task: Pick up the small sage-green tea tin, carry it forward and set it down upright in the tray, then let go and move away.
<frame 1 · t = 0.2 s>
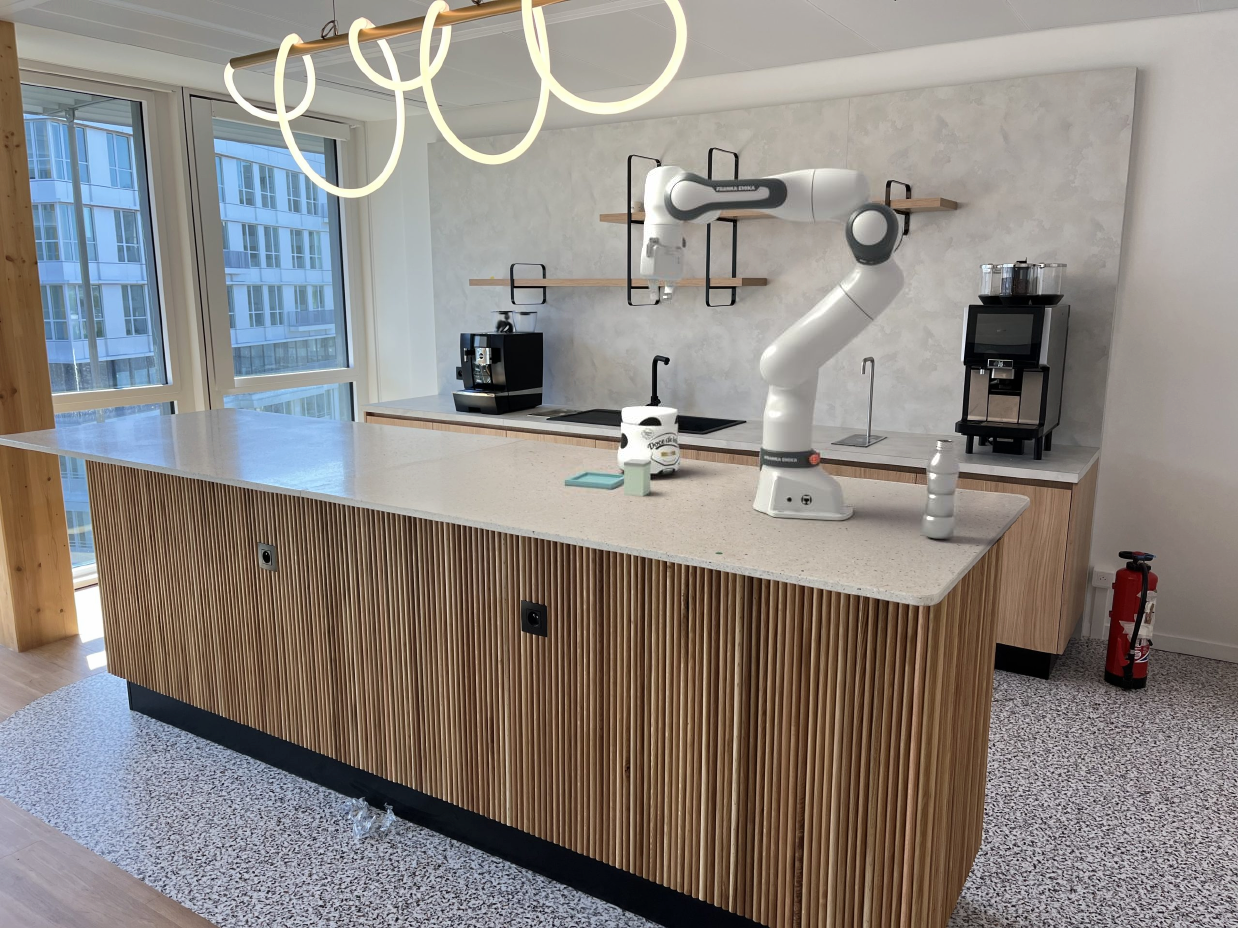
hand: (661, 300, 209), 47 cm above the countertop, tool pointing down, fingers open, 8 cm apart
tea tin: (637, 493, 221), on the countertop
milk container: (648, 474, 246), on the countertop
plastic bottle: (937, 538, 181), on the countertop
tray: (597, 482, 233), on the countertop
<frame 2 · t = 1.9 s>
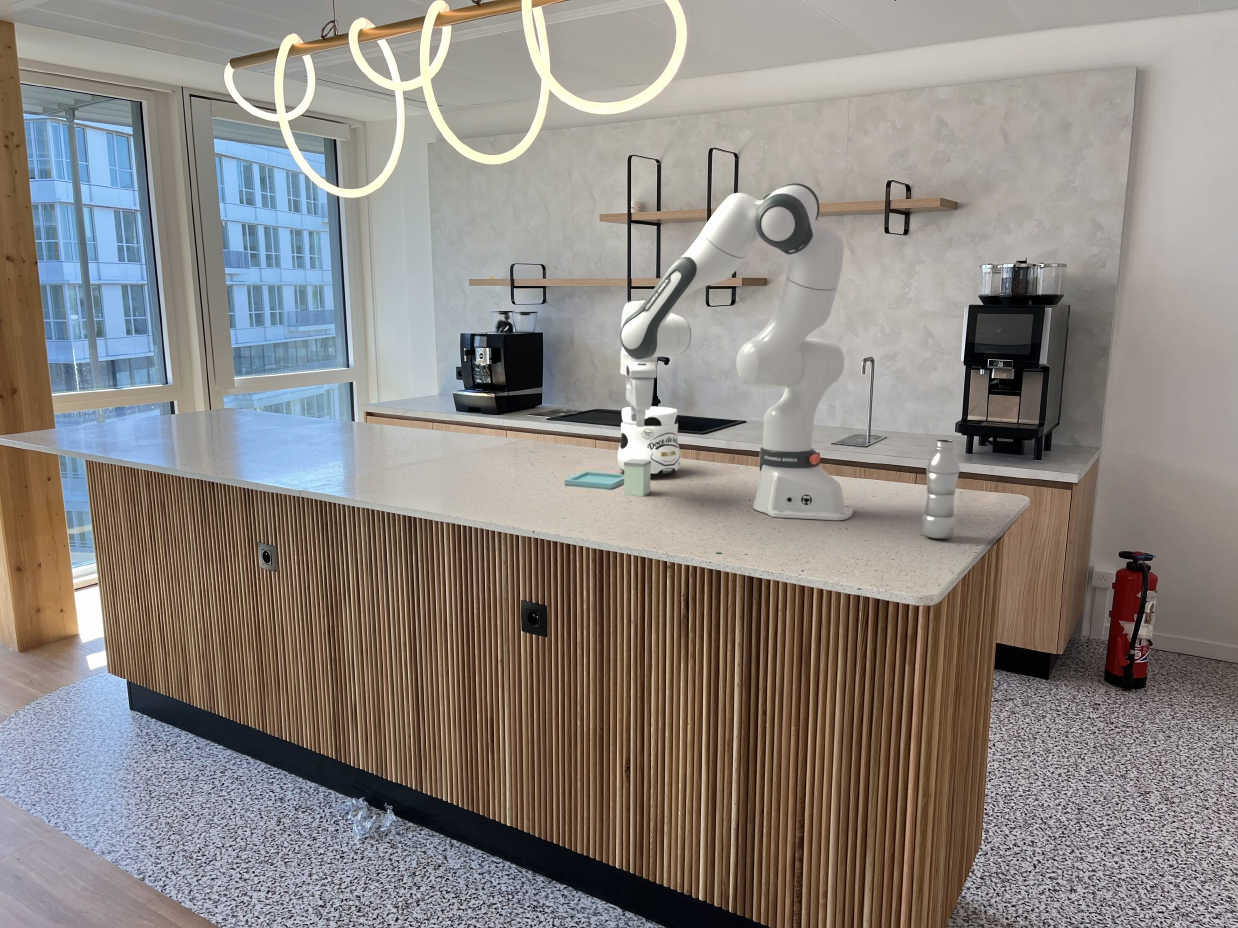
hand: (637, 424, 218), 17 cm above the countertop, tool pointing down, fingers open, 8 cm apart
nothing on the countertop moved.
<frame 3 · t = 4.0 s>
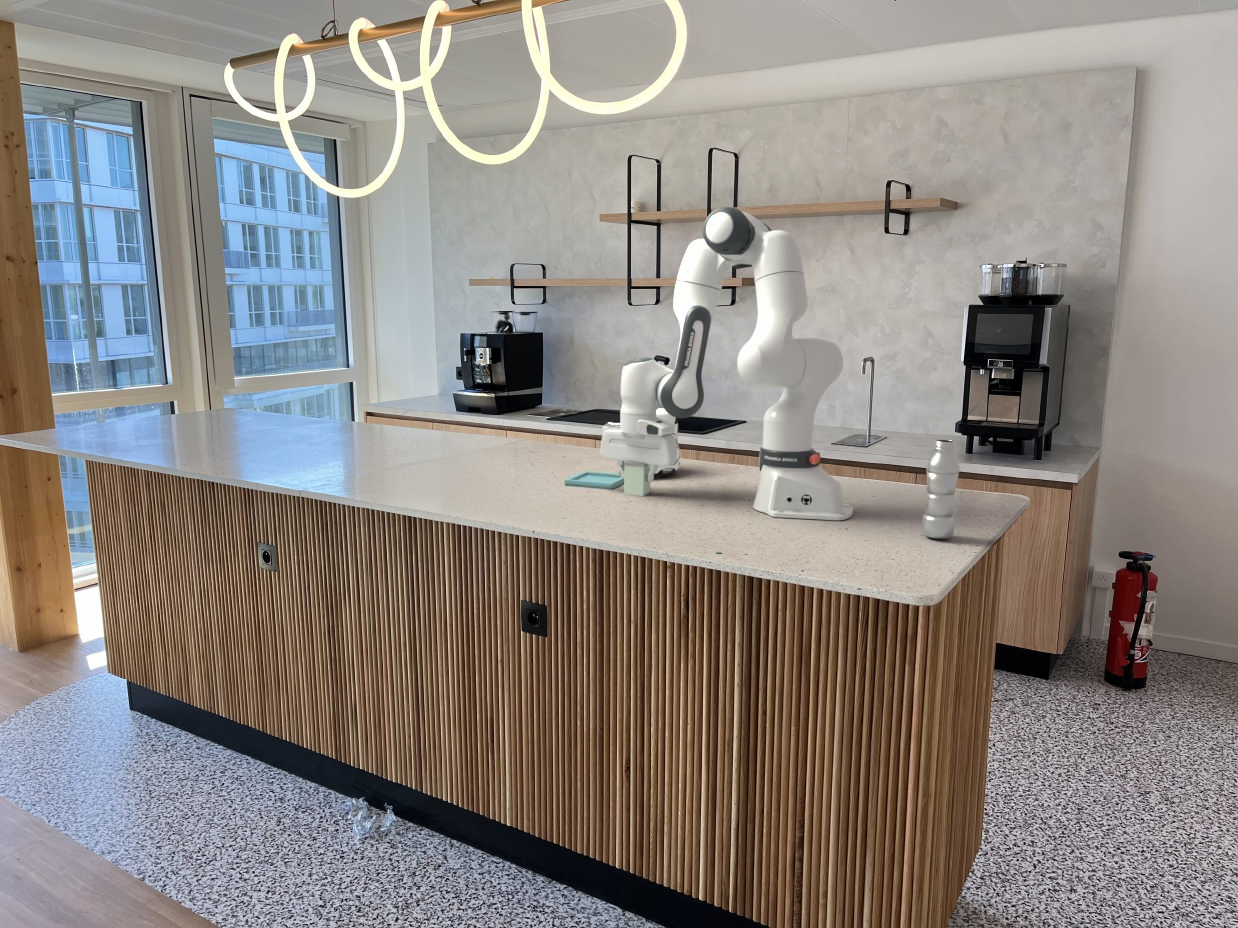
hand: (637, 480, 220), 3 cm above the countertop, tool pointing down, fingers closed on tea tin, 5 cm apart
tea tin: (637, 493, 221), on the countertop, touching gripper
everything else where it was.
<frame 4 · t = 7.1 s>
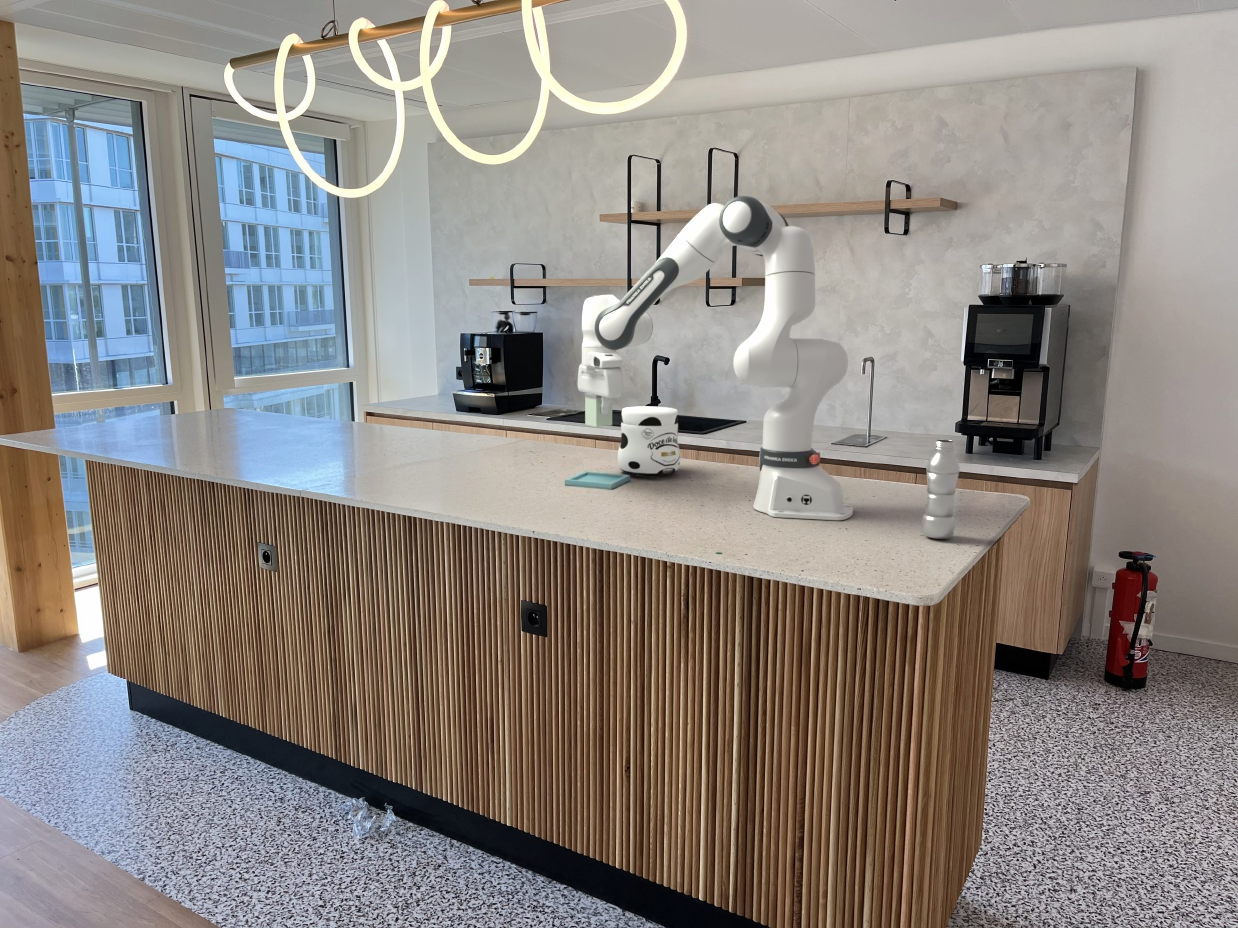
hand: (598, 412, 230), 19 cm above the countertop, tool pointing down, fingers closed on tea tin, 5 cm apart
tea tin: (598, 425, 231), point 15 cm above the countertop, touching gripper
everything else where it was.
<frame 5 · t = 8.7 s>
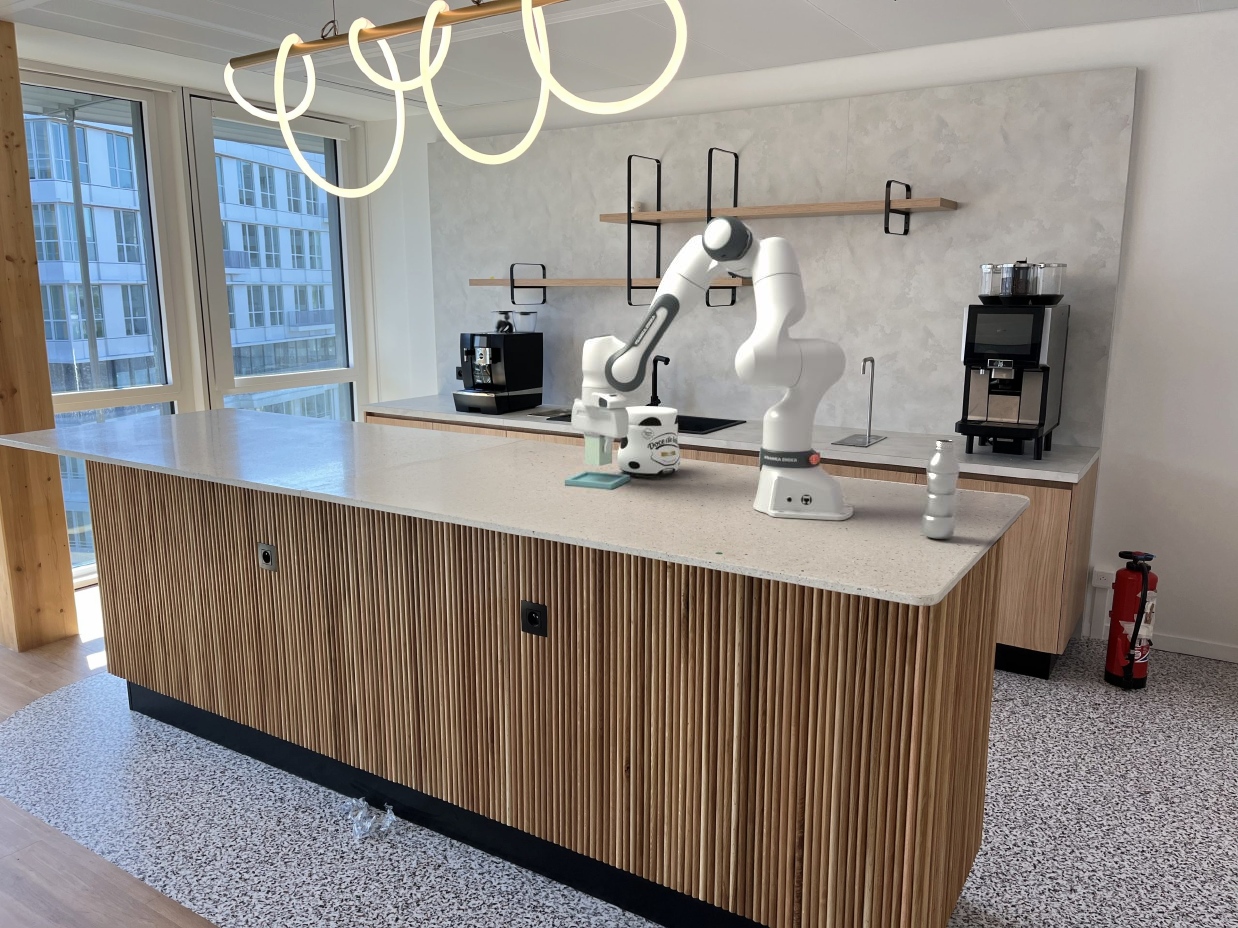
hand: (598, 450, 232), 8 cm above the countertop, tool pointing down, fingers closed on tea tin, 5 cm apart
tea tin: (598, 463, 233), point 5 cm above the countertop, touching gripper
everything else where it was.
when the fingers open (5 cm above the countertop, at t = 10.3 s): tea tin drops 1 cm, resting on tray.
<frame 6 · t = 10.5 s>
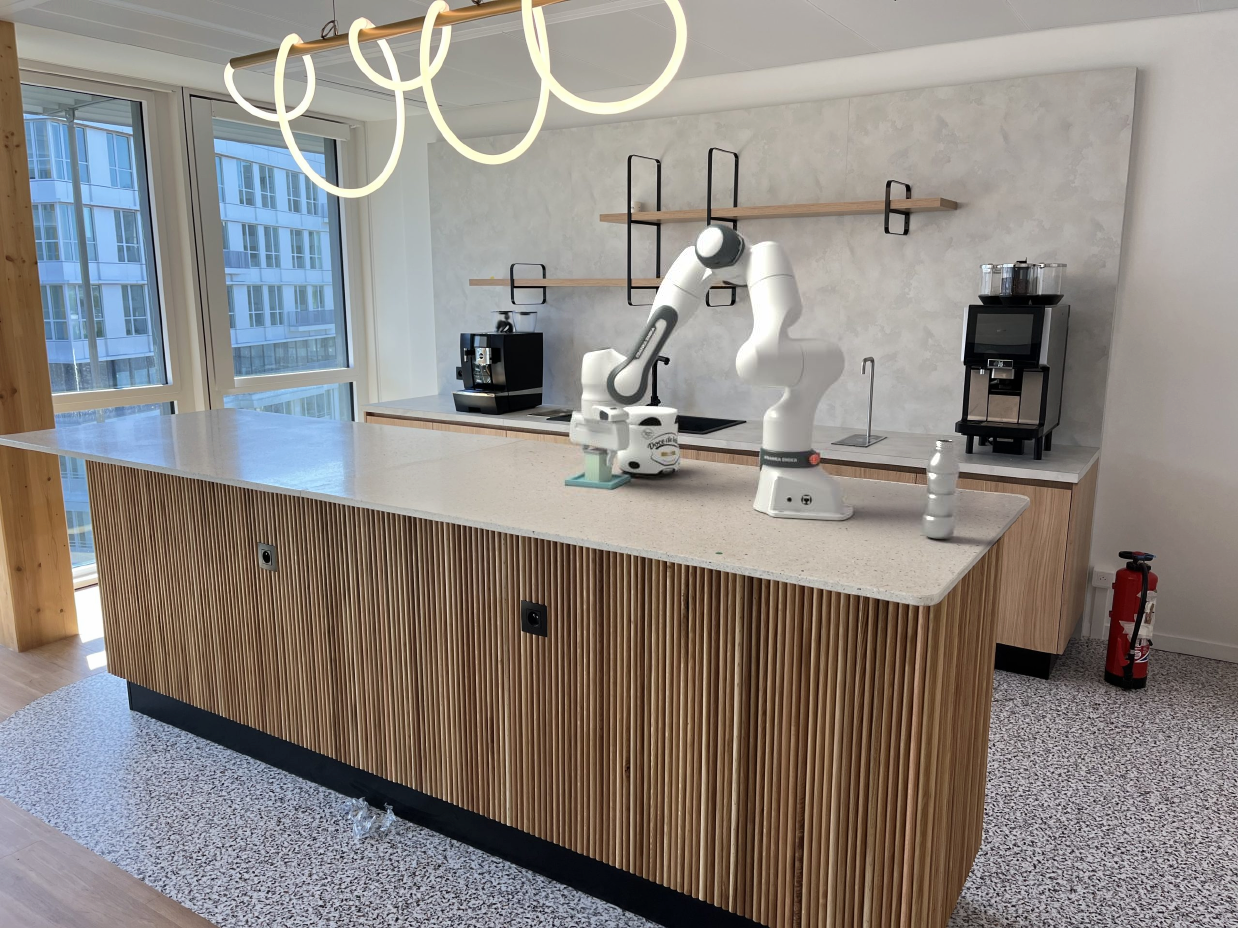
hand: (598, 463, 232), 5 cm above the countertop, tool pointing down, fingers open, 7 cm apart
tea tin: (598, 480, 233), point 1 cm above the countertop, touching tray
everything else where it was.
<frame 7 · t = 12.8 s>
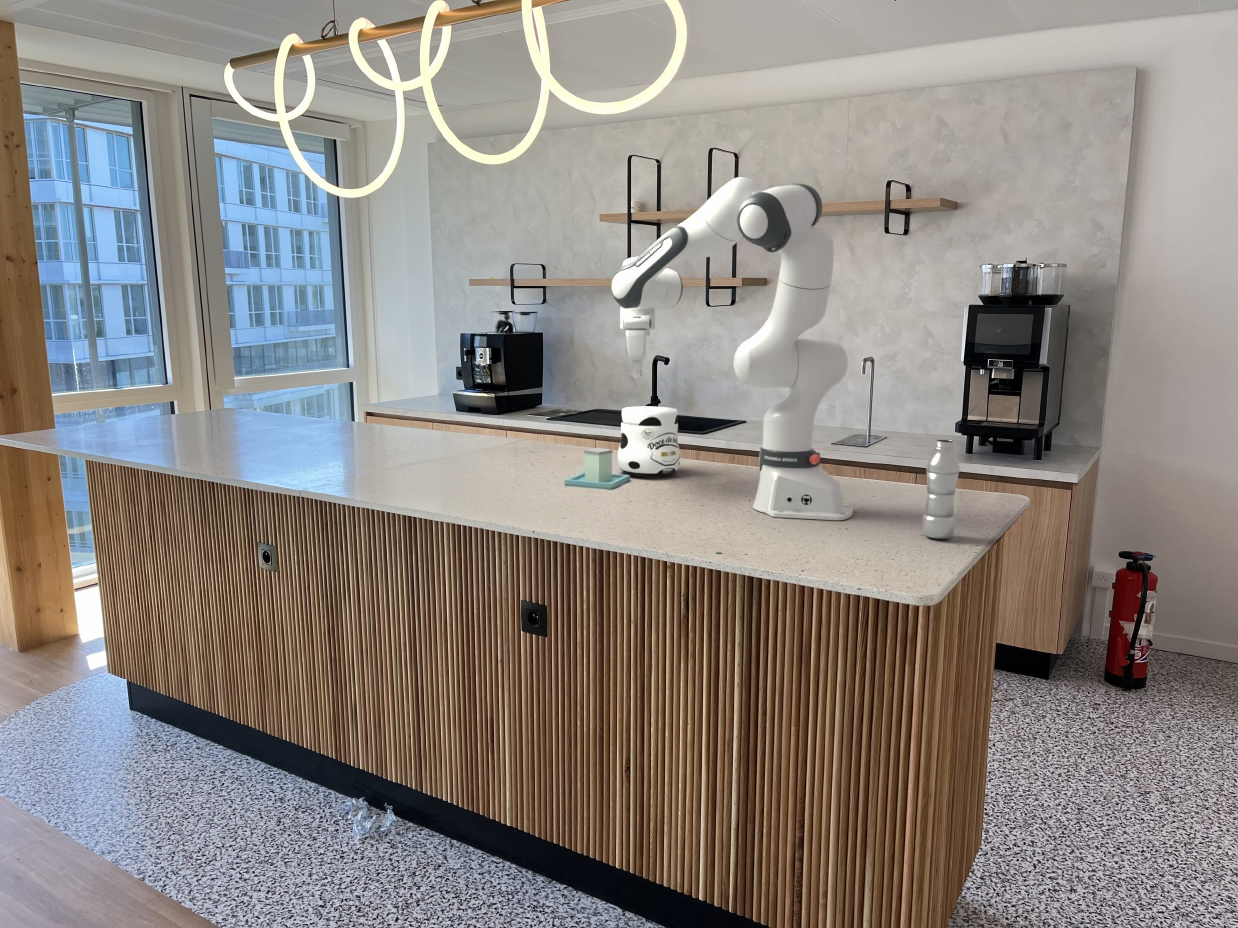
hand: (637, 377, 227), 28 cm above the countertop, tool pointing down, fingers open, 8 cm apart
nothing on the countertop moved.
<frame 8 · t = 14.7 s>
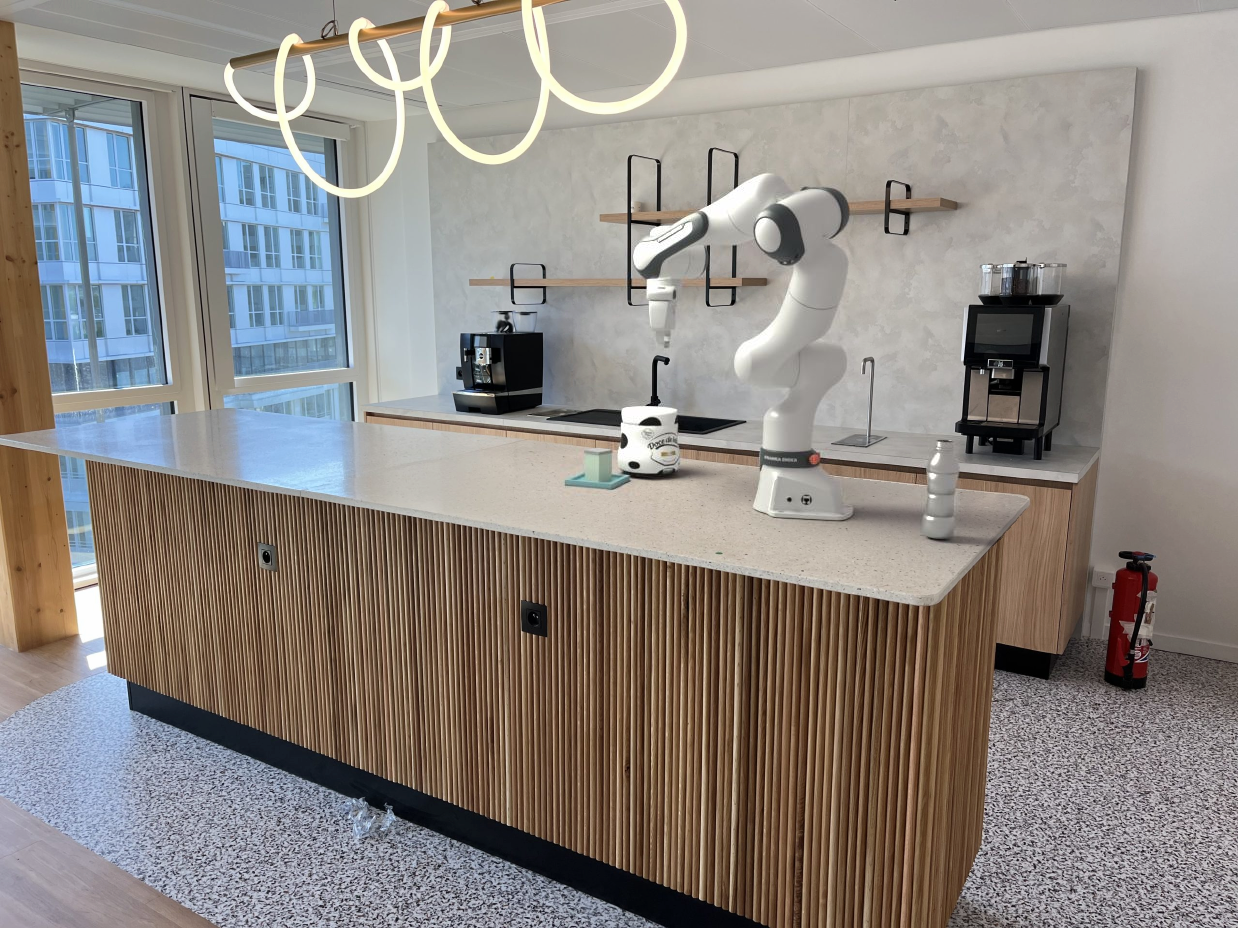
hand: (663, 348, 225), 35 cm above the countertop, tool pointing down, fingers open, 8 cm apart
nothing on the countertop moved.
at the end: tea tin 0.1 cm from the tray (horizontally); tea tin tilted 0°; the gripper is holding nothing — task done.
